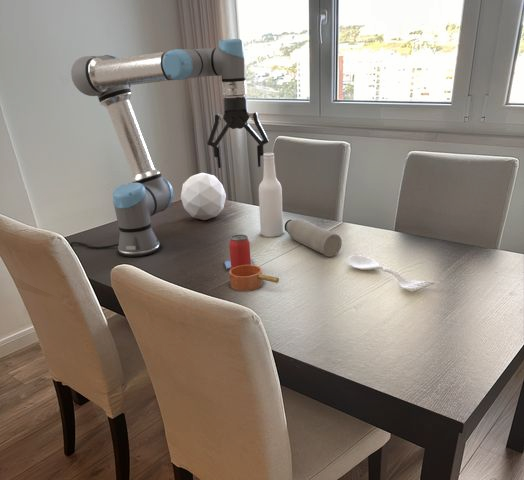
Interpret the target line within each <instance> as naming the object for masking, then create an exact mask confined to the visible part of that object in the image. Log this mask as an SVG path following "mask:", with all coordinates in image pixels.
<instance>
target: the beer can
mask: <svg viewBox="0 0 524 480" xmlns="http://www.w3.org/2000/svg"><path fill="white" fill-rule="evenodd" d="M248 237H249V236H248V235H246V234H234V235H231V236H230V237H229V243H228V246H229V247H228V248H229V259H230V260H229V261H231V269H232V268H233V267H236V266H240V265H251V262H252V259H251V258H252V257H251V243H250V240H249V238H248Z"/></svg>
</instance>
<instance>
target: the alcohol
mask: <svg viewBox="0 0 524 480" xmlns="http://www.w3.org/2000/svg"><path fill="white" fill-rule="evenodd" d="M282 187H283V186H282V184H281V182H280V181H279V179H277V172H276V163H275V153H274V152H264V154H263V177H262V181H261V182H260V183H259V185H258V206H259V224H260V225H259V226H260V234H261V235H262V236H263V237H265V238H266V237H267V238H275V237H279V236H281V235H282V234H283V232H284V222H283V221H284V220H283V218H284V216H283V215H284V214H283V188H282Z"/></svg>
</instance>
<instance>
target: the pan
mask: <svg viewBox="0 0 524 480" xmlns="http://www.w3.org/2000/svg"><path fill="white" fill-rule="evenodd" d="M228 271H229V272H228V275H229V285H230V287H231V288H232V290H236V291H240V292H241V291H242V292H247V291H254V290H257V289H259V288H261V287H263V280H261V279H258V274H263V268H261V266H258V265H255V264H252V265H240V266H236V267H233V268H232V269H231V270H228Z"/></svg>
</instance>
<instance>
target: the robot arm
mask: <svg viewBox="0 0 524 480" xmlns="http://www.w3.org/2000/svg"><path fill="white" fill-rule="evenodd" d="M245 57H246V55H245V48H244V42H243V40H242V39H240V38H227V39H226V38H225V39H220V40H219V41H218V47H213V48H211V47H208V48H191V49H190V48H189V49H186V48H185V49H183V48H182V49H181V48H175V49H170V50H168V51H160V52H153V53H145V54H138V55H132V56H125V57H118V56H116V55H111V54H110V55H109V54H104V55H87V56H86V55H85V56H81V57H79V58H78V59H76V60H75V61H74V63H73V64H72V66H71V70H70V76H71V81H72V83H73V85H74V86H75V88H76V89H77V90H78V91H79V92H80V93H82V94H83V95H85V96H89V97H97V99H98V101H99V104H100V105H102V106H103V107H104V108H106V110H107V112H108V115H109V117H110V120H111V123H112V126H113V128H114V129H115V133H116V136H117V139H118V141H119V144H120V146H121V149H122V151H123V153H124V156H125V159H126V162H127V164H128V166H129V169H130V172H131V174H132V178H131V181H130V182H127V183H126V184H121V185H119V186H117V187H116V188H115V189H113V191H112V200H113V201H112V203H113V206H114V212H115V216H116V219H117V225H118V229H119V236H118V237H119V238H118V243H114V244H110V245H100V246H97V245H90V244H88V243H86V242H80V241H71V242H70V243H69V244H70V246H72V245H81V246H82V245H83V246H86V247H88V248H91V249H109V248H114V247H117V250H118V254H119V255H120V256H122V257H126V258H127V257H128V258H139V257H145V256H149V255H152V254H155V253H157V252H158V251H159V250H160V248H161V244H160V241H159V239H158V238H157V235H156V233H155V232H154V230H153V228H152V221H151V217H152V216H154V215H156V214H158V213H160V212H164V211H165V210H166V209H167V208H169V207H170V206H171V205H172V203H173V200H174V196H175V194H174V188H173V186H172V184H171V183H170V181H169V180H167V178H164V177H163V175H162V173H161V171H160V170H157V169H156V167H155V165H154V163H153V160H152V157H151V154H150V152H149V149H148V146H147V144H146V141H145V138H144V135H143V133H142V131H141V127H140V125H139V122H138V119H137V116H136V113H135V111H134V107H133V105H132V103H131V97H132V95H133V92H132V90H131V87H132V86H134V85H141V84H142V85H143V84H151V83H159V82H167V81H183V80H186V79H195V78H203V77H219V76H220V78H221V88H222V96H223V99H222V100H223V114H219V113H215V114H214V123H213V126H212V129H211V131H210V135H209V137H208V140H207V143H206V144H207V145H208V146H211V147H212V148H213V156H214V158H217V168H218V169H221V168H222V167H223V163H222V152H221V146H220V145H219V144H220V143H221V141H222V140H223V138H224V136H226V134H227V132H228V131H229V129H231V130H235V129H238V130H241V129H243V128H244V129H245V130H246V131H247V132H248V134H249V135H250V136H251V137H252V139H253V140H254V141H256V143H257V146H256V151H257V152H256V153H257V154H256V155H257V167H258V168H260V167H262V156H263V157H264V155H263V154H264V153H265V150H264V149H265V148H264V146H265V145H266V144H268V143H269V137H268V135H267V134H266V132H265V130H264V128H263V125H262V124H261V121H260V120H259V115H258V112H257V111H255V112H252V113H249V110H248V97H247V96H246V95H247V80H246V61H245ZM249 119H251V121H253V122H254V124H255V126H256V129H257V130H258V132H259V134H260V135H258V133H256V131H255V130H254V128H252V126H251V124H249V123H248V121H249ZM222 121H224V122H225V123H226V124H225V125H224V127H223V129H222V130H221V132H220V134H218V136H217V138H216V140H215V137H216V134H217V131H218V128H219V126H220V123H221V122H222ZM214 140H215V141H214Z"/></svg>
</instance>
